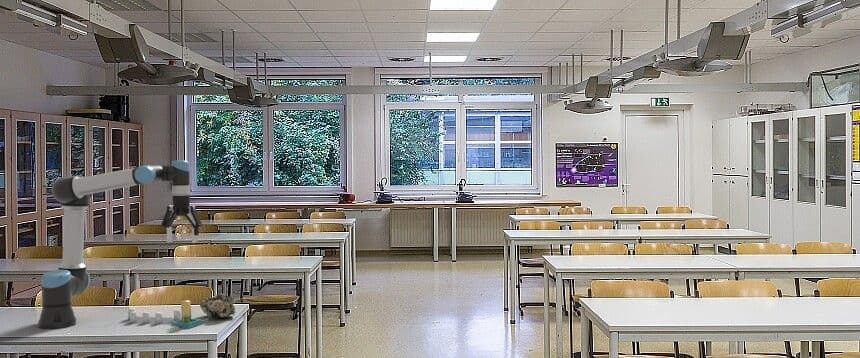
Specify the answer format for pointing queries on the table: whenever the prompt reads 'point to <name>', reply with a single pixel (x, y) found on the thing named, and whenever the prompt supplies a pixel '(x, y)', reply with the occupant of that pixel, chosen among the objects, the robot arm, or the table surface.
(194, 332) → the table surface
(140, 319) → the board
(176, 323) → the tray
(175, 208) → the robot arm
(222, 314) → the mineral specimen
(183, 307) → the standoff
